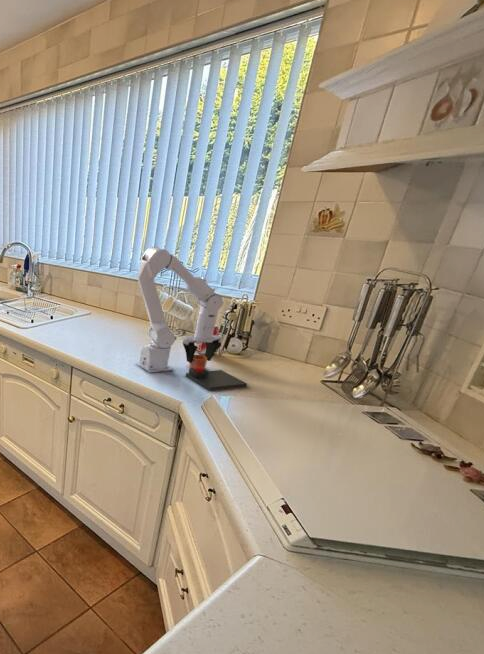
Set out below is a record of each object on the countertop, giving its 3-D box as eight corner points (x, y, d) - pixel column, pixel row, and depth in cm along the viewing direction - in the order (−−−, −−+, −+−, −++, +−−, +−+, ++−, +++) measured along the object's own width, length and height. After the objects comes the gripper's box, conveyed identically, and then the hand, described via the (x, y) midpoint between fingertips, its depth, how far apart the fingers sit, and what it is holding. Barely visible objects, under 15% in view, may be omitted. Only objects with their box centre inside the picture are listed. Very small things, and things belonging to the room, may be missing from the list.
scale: (209, 391, 129) (211, 382, 128) (184, 375, 141) (185, 368, 140) (246, 387, 132) (248, 379, 130) (218, 372, 143) (220, 364, 142)
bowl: (195, 371, 144) (197, 360, 142) (185, 366, 149) (187, 355, 147) (208, 370, 145) (210, 359, 143) (198, 365, 150) (200, 354, 148)
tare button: (197, 373, 136) (198, 368, 136) (192, 370, 139) (193, 365, 138) (204, 372, 137) (205, 368, 136) (199, 369, 139) (200, 365, 139)
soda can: (212, 356, 157) (218, 328, 153) (192, 353, 161) (198, 325, 157) (215, 351, 163) (221, 324, 158) (196, 348, 167) (202, 321, 162)
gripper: (195, 330, 136) (188, 366, 141) (231, 327, 138) (223, 363, 143) (181, 324, 142) (175, 359, 147) (217, 321, 145) (209, 356, 150)
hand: (198, 360), depth 146 cm, fingers open, 7 cm apart
